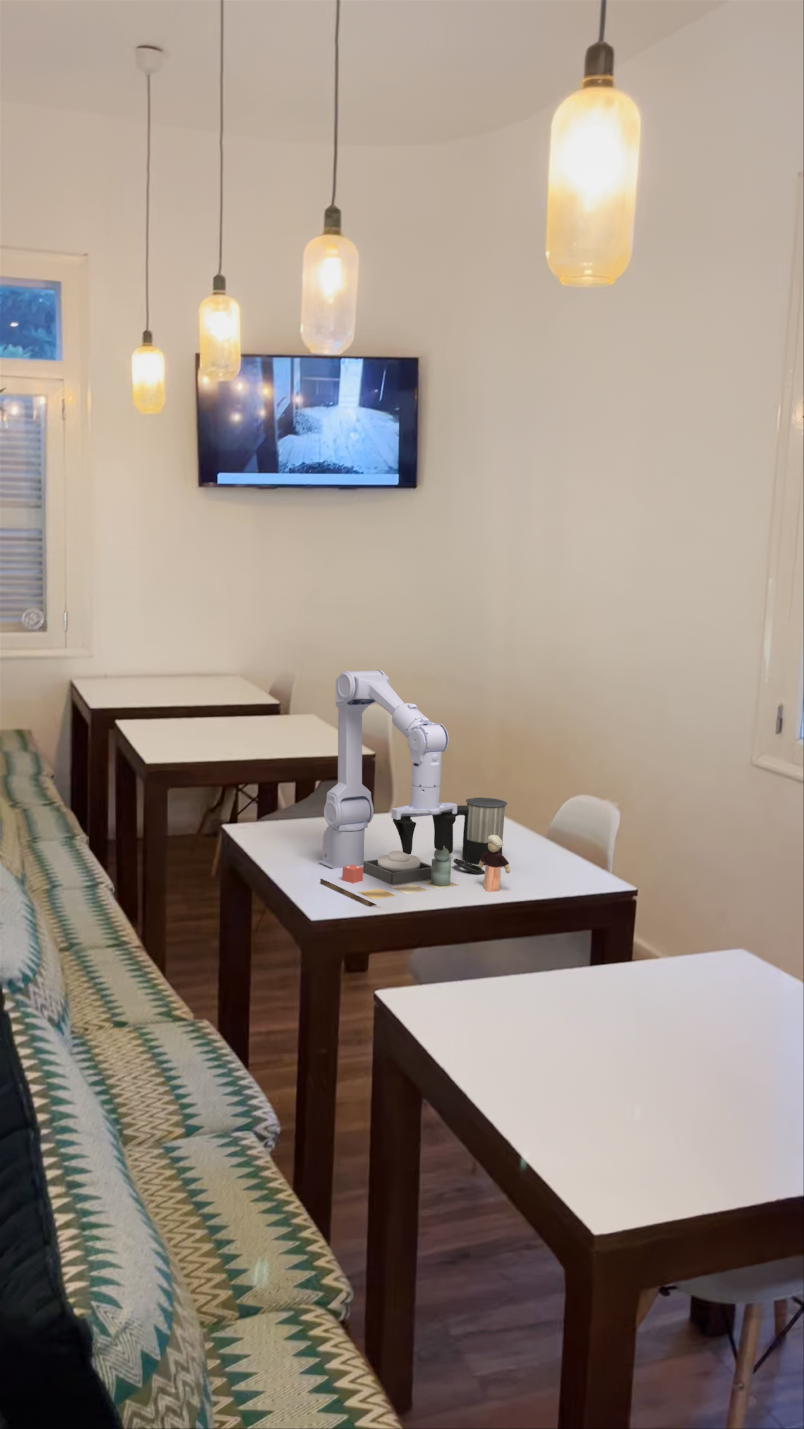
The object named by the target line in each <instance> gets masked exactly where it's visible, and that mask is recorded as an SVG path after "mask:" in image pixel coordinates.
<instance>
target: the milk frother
mask: <svg viewBox="0 0 804 1429" xmlns="http://www.w3.org/2000/svg"><path fill="white" fill-rule="evenodd" d="M465 803H466V805H457V814H452V815H454V816H456V817H458V816H464V822H463V823H464V825H463V836H462V854H461V857H462V859H463V860H462V859H461V858H460V859H459V858H458V857H457V858H454V859H453V863H454V864H455V865H457V866H458V867H460V868H462V869H463V870H465V871H467V872H468V873H471V874H475V875H478V876H480V875H485V869H484V868H483V867H482V868H480V867H478V864H479V862H480V859H481V857H482V856H483V854H484V853H486V852H487V851H490V850H489V849H488V841H487V840H488V837H489V836H490V835H497V836H499V838H500V839H501V840H502V842H504V841H503V838H504V824H505V812H506V810H505V809H506V806H507V805H508V803H507V801H505V800H502V799H499V798H493V797H470V798H466V799H465ZM444 847H445V848H446V849H447V850H448V851H449V855H451V854H452V853H453V851H454V824H453V825H452V827H451V829H450V831H449V833H448V835H447V838H446V841H445V844H444ZM498 852H499V853H500V854H501V855H503V846H502V847H501V848H500V849H499V851H498ZM483 866H486V862H485V863H484V864H483ZM501 868H503V866H502V865H501Z"/></svg>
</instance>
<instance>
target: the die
mask: <svg viewBox="0 0 804 1429" xmlns="http://www.w3.org/2000/svg"><path fill="white" fill-rule="evenodd" d="M363 880H364V872H363V866H361V865H358V866H356V865H349V866H345V867H343V868H342V876H341V881H342V882H343V881H344V882H348V883H350V884H356V883H359V882H363Z"/></svg>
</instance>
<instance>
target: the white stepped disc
mask: <svg viewBox="0 0 804 1429" xmlns="http://www.w3.org/2000/svg"><path fill="white" fill-rule="evenodd" d="M377 859H378V867H380V868H382V869H385V870H387V871H390V872H403V871H410V870H417V869H420V861H421V858H419V857H418V856H416V855H415V856H414V855H411V854H406V853H404V852H403V850H402V851H400V850H397V851H396V850H394V851H390V852H389V853H388V854H383V855H380V856H378V858H377Z"/></svg>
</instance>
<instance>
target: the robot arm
mask: <svg viewBox="0 0 804 1429" xmlns="http://www.w3.org/2000/svg"><path fill="white" fill-rule="evenodd" d="M373 704H378V706H379V705H380V707H381V708H383V709H384V710H385V711H387V712H388V713H389V714H390V715H391V722H392V724H393V725H394V727H395V728H396V729H397V730H398V731H399V732H400V733H401V734H402V735H403V736H404V737H405V738H406V740H407V742H406V743H407V747H408V749H409V754H410V755H409V759H410V761H411V762H412V769H411V789H410V790H411V793H410V794H411V796H410V797H411V798H410V804H407V805H404V806H398V807H392V808H391V815H390V816H391V817H390V818H391V819H392V822H393V824H394V826H395V827H396V830H397V833H398V836H399V839H400V843H401V848H402V852H404V853H406V854H410V855H411V854H412V851H413V839H414V834H415V830H416V829H415V828H416V827H417V822H415V821H413V819H411V818H417V817H418V818H419V817H427V816H432V822H433V829H434V832H433V834H434V836H433V839H434V840H433V846H434V849H435V850H436V849H438V850H443V847H444V844H445V841H446V838H447V835H448V833H449V831H450V829H451V827H452V825H453V826H454V824H455V822H456V818H457V816H454V815H452V814H457V806H458V803H455V802H440V801H441V800H440V799H441V797H440V796H441V782H442V781H441V779H442V778H441V777H442V759H443V758H442V755H443V753H444V752H445V751H446V750H447V748H448V747H449V743H450V742H449V741H450V738H449V737H450V736H449V732H448V731H447V729H446V727H445V725H444V724H442V723H435V722H432V721H430V719H429V718H428V717H426V716H425V715H424V714H423V713H422V712H421V711H420V709H418V706H417V705H416V704H415V703H409V702H406V703H405V702H404V701H403V700H402V699H401V697H400V696H399V695H398V694H397V693H396V691H395V690H394V689H393V688H392V686H391V683H390V677H389V676H388V675H386V673H385V672H384V671H383V670H382V669H376V670H357V671H355V670H354V671H353V670H352V671H349V670H344V671H342V672H341V673H340V674H339V676H338V677H337V678H336V679H335V706H336V707H337V784H335V785H334V786H333V787H331V789H330V790H328V791H327V792H326V801H325V804H324V807H323V816H324V819H325V822H326V823H327V825H328V826H327V827H326V829H325V831H324V833H323V839H322V840H323V841H322V859H321V860H319V864H322V865H323V866H326V867H327V868H330V869H333V870H335V869H343V867H345V866H349V865H356V866H363V863H364V861H365V860H364V859H365V858H364V856H365V853H364V852H365V834H366V833H365V832H366V831H365V829H367V828H368V827H369V826H368V825H369V824H370V822H372V820H373V818H374V811H375V809H374V808H375V807H374V804H373V800H372V792H371V791H370V790H369V789H368V787H366V786H365V785H364V784H363V713H364V712H365V710H366V709H367V708H368V707H369V706H371V705H373Z"/></svg>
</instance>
